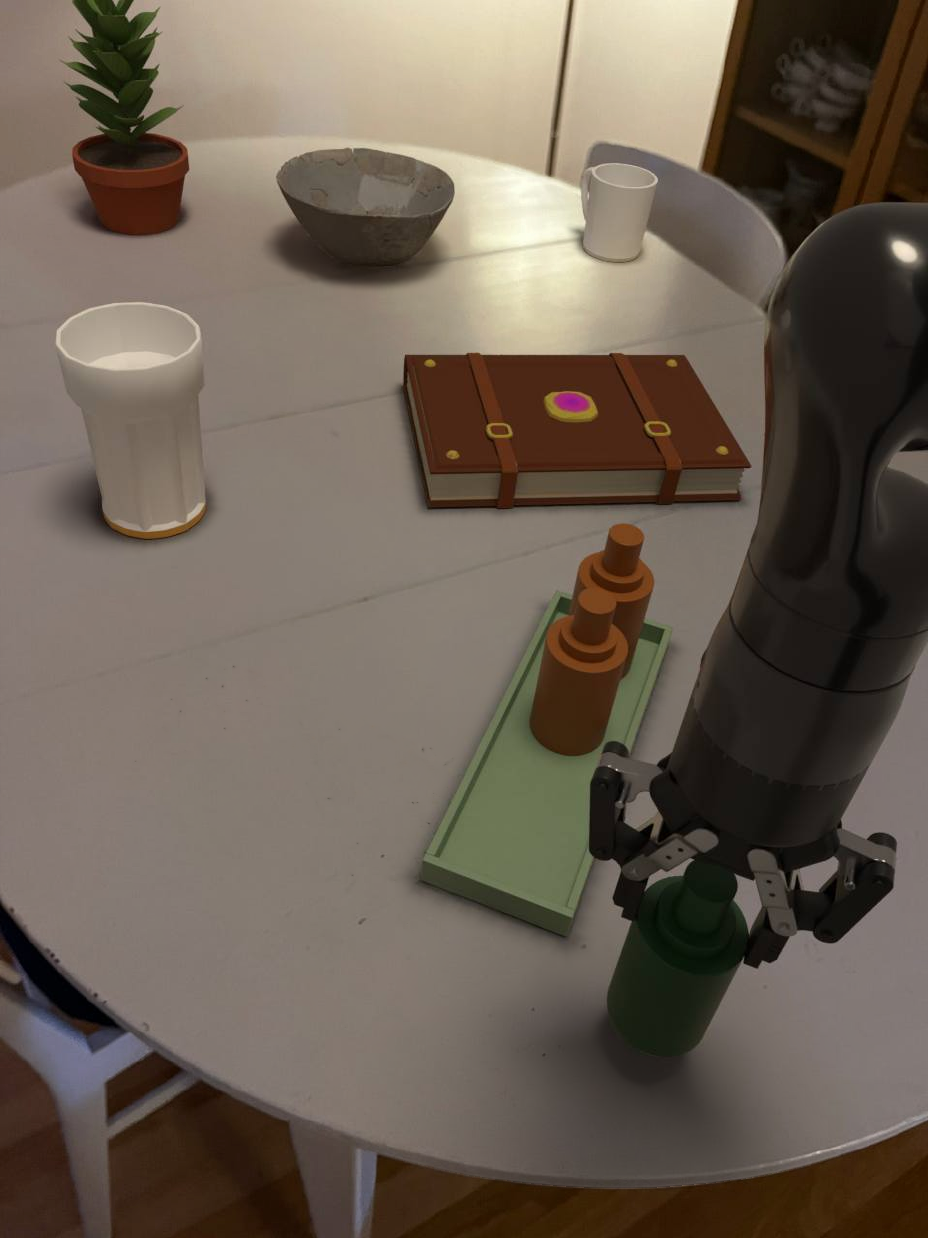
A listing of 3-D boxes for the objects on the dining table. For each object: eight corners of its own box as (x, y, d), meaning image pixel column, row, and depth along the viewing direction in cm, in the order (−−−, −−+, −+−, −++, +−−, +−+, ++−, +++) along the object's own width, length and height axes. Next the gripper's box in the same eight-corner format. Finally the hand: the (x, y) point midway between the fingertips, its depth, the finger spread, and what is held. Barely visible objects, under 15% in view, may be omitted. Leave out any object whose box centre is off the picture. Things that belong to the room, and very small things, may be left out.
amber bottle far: (644, 674, 82) (681, 550, 73) (581, 692, 80) (612, 566, 71) (608, 627, 86) (640, 503, 77) (548, 642, 84) (573, 517, 75)
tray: (566, 937, 65) (572, 918, 64) (420, 880, 67) (422, 859, 66) (667, 647, 86) (673, 626, 84) (552, 610, 88) (556, 589, 86)
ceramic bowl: (403, 311, 125) (407, 231, 118) (245, 262, 131) (240, 183, 124) (478, 249, 140) (486, 174, 133) (333, 207, 146) (333, 134, 139)
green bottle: (727, 1035, 57) (795, 910, 49) (639, 1074, 55) (694, 950, 47) (672, 948, 61) (726, 816, 52) (588, 981, 59) (630, 850, 50)
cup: (104, 558, 88) (67, 379, 76) (79, 484, 95) (43, 310, 83) (233, 532, 92) (218, 358, 80) (200, 462, 99) (182, 293, 87)
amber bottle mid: (619, 744, 77) (656, 618, 68) (551, 765, 75) (580, 638, 66) (582, 690, 80) (613, 564, 72) (516, 708, 78) (539, 582, 70)
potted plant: (214, 207, 143) (193, -44, 122) (166, 249, 132) (134, -18, 111) (115, 188, 144) (78, -62, 124) (59, 229, 134) (9, -38, 113)
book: (740, 502, 102) (754, 461, 98) (428, 510, 97) (431, 467, 93) (673, 383, 118) (683, 344, 114) (402, 384, 113) (404, 343, 109)
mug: (654, 252, 144) (670, 178, 137) (618, 269, 139) (633, 193, 132) (592, 226, 149) (604, 153, 142) (555, 242, 144) (566, 167, 137)
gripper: (592, 712, 40) (537, 937, 52) (970, 839, 37) (823, 1049, 48) (638, 600, 45) (579, 826, 57) (972, 702, 42) (839, 920, 54)
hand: (691, 928), depth 53 cm, fingers closed on green bottle, 5 cm apart
